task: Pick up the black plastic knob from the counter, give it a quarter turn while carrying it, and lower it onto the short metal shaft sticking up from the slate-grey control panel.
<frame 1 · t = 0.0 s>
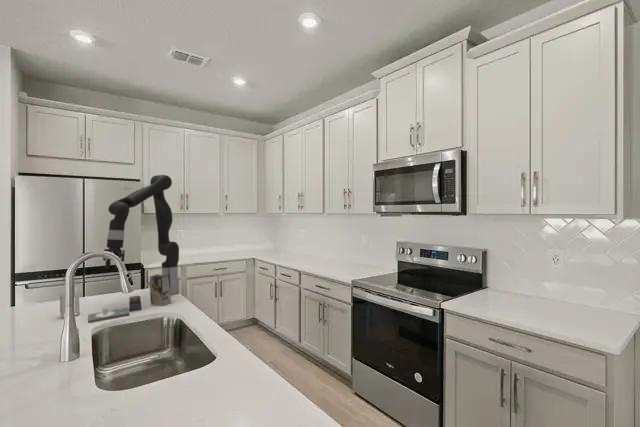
hand: (112, 269, 170), 22 cm above the worktop, tool pointing down, fingers open, 8 cm apart
control panel: (108, 316, 162), on the worktop
knob: (135, 309, 172), on the worktop
coffee box: (160, 304, 182), on the worktop
milk bottle: (70, 316, 164), on the worktop
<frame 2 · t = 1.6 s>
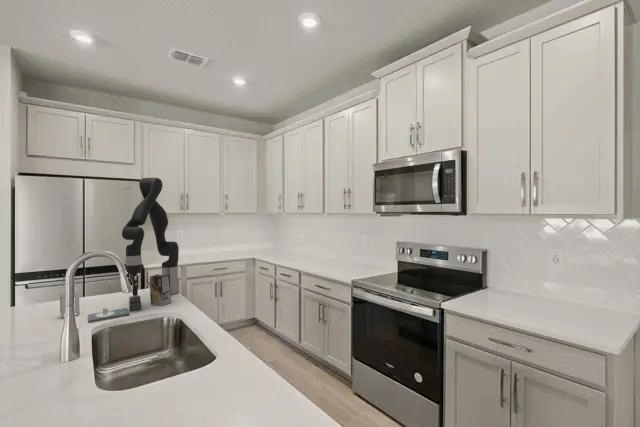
hand: (134, 293, 171), 9 cm above the worktop, tool pointing down, fingers open, 8 cm apart
nothing on the worktop moved.
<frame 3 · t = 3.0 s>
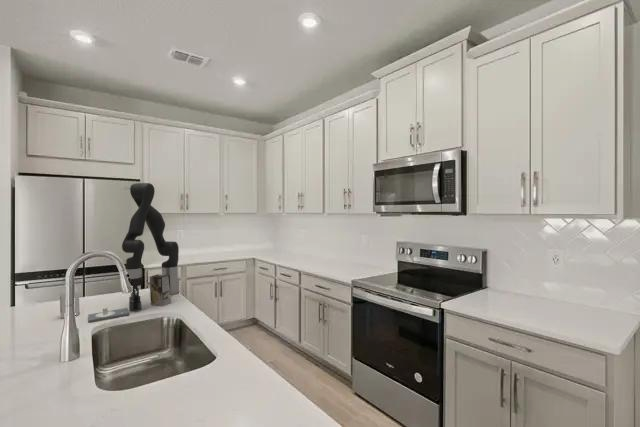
hand: (135, 307, 172), 1 cm above the worktop, tool pointing down, fingers closed on knob, 5 cm apart
knob: (135, 309, 172), on the worktop, touching gripper
everything else where it was.
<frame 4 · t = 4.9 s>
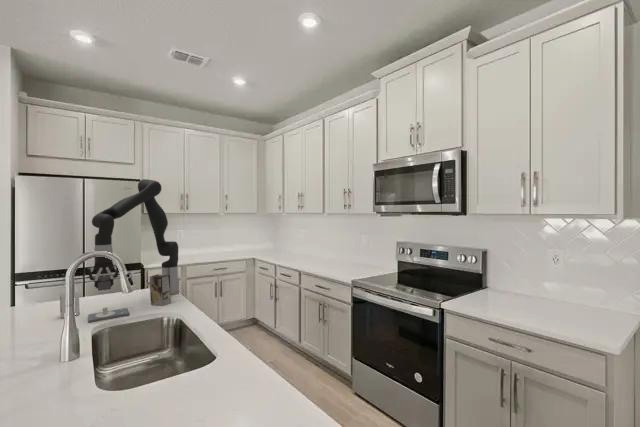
hand: (104, 287, 161), 15 cm above the worktop, tool pointing down, fingers closed on knob, 5 cm apart
knob: (104, 289, 161), point 14 cm above the worktop, touching gripper
everything else where it was.
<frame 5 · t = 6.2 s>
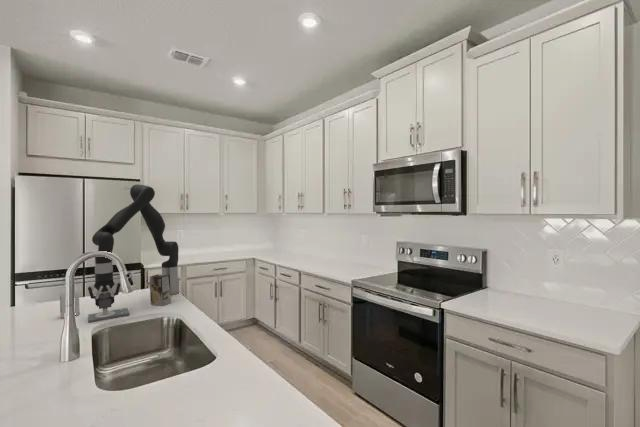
hand: (105, 304, 161), 6 cm above the worktop, tool pointing down, fingers closed on knob, 5 cm apart
knob: (105, 306, 161), point 5 cm above the worktop, touching gripper
everything else where it was.
when the fingers open (3 cm above the worktop, at t = 7.2 s): knob stays where it is, resting on control panel.
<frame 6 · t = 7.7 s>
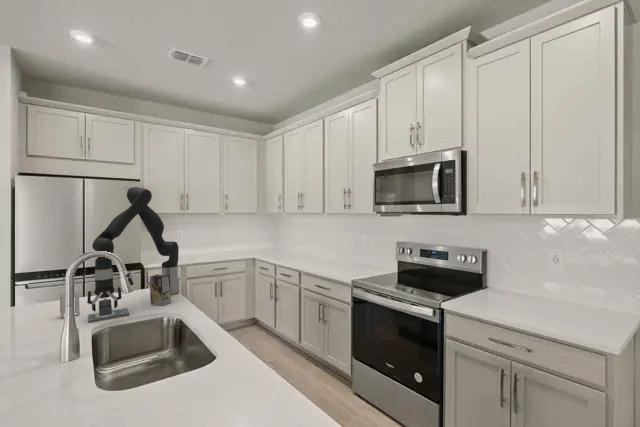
hand: (105, 309, 161), 4 cm above the worktop, tool pointing down, fingers open, 8 cm apart
knob: (105, 314, 161), point 1 cm above the worktop, touching control panel
everything else where it was.
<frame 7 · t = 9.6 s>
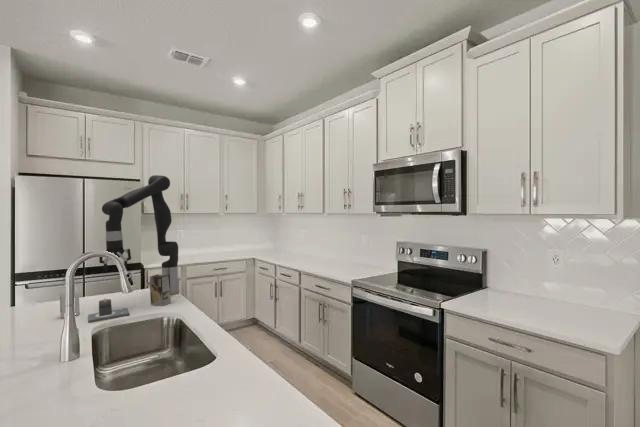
hand: (116, 269, 171), 22 cm above the worktop, tool pointing down, fingers open, 8 cm apart
nothing on the worktop moved.
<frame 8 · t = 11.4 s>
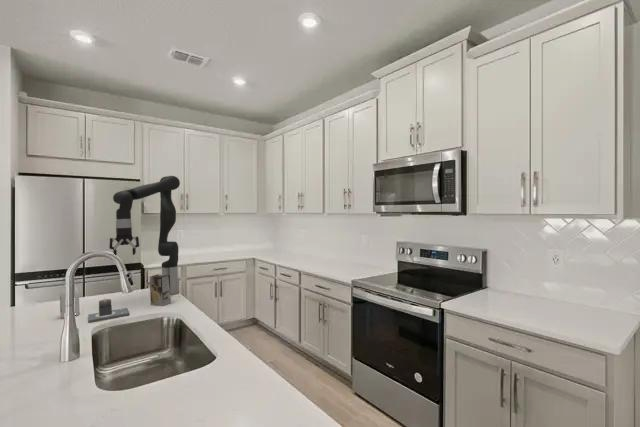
hand: (124, 255, 180), 28 cm above the worktop, tool pointing down, fingers open, 8 cm apart
nothing on the worktop moved.
at the end: knob 0.1 cm from the target spot on the control panel, point 1.4 cm above the control panel's base; knob tilted 0°; the gripper is holding nothing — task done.
